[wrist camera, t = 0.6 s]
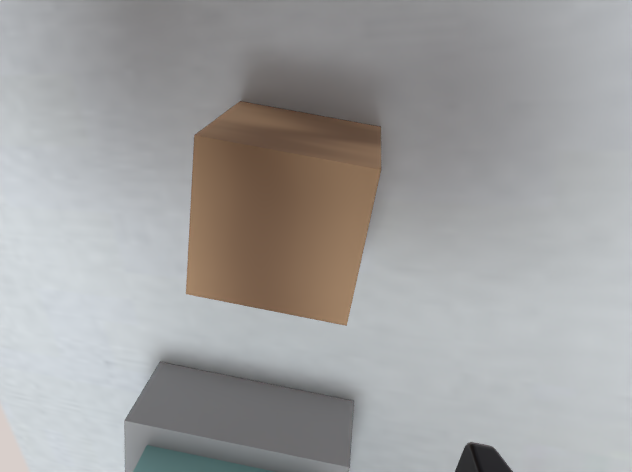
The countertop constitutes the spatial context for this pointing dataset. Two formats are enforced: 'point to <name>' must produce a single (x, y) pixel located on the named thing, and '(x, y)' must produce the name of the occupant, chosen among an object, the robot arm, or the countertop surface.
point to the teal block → (185, 462)
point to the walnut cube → (281, 210)
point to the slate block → (239, 422)
